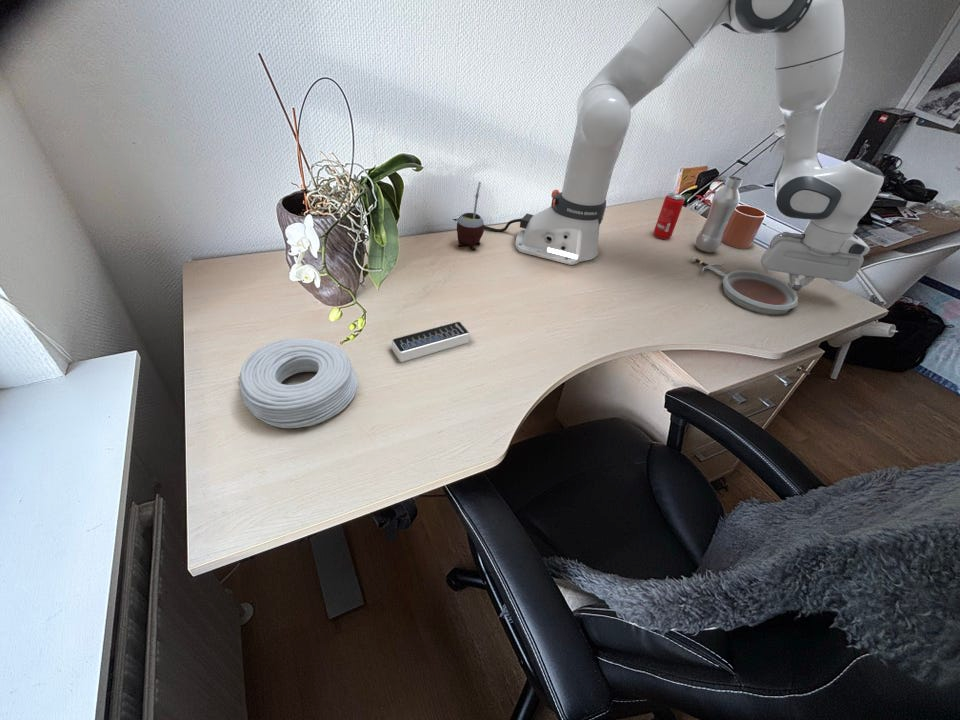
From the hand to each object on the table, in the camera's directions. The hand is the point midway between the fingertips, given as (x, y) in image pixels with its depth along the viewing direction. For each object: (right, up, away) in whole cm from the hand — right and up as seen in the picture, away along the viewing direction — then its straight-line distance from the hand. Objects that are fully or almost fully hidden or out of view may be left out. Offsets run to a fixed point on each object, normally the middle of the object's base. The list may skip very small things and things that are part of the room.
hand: (793, 289), depth 113 cm
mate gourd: (-81, +13, +9) cm, 82 cm away
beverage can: (-24, +19, +22) cm, 38 cm away
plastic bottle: (-14, +14, +17) cm, 26 cm away
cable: (-107, -23, -37) cm, 116 cm away
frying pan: (-13, +1, +2) cm, 13 cm away
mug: (-3, +18, +24) cm, 30 cm away
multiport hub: (-87, -15, -25) cm, 92 cm away
